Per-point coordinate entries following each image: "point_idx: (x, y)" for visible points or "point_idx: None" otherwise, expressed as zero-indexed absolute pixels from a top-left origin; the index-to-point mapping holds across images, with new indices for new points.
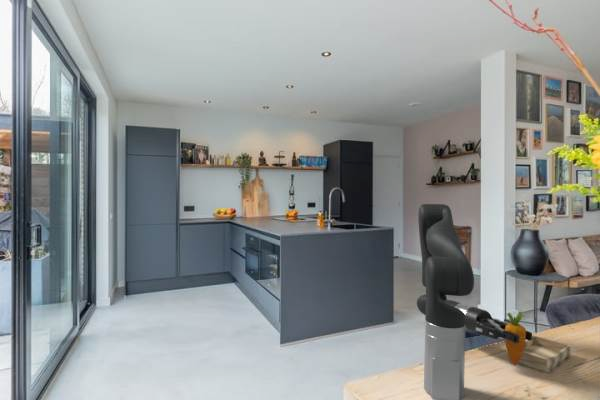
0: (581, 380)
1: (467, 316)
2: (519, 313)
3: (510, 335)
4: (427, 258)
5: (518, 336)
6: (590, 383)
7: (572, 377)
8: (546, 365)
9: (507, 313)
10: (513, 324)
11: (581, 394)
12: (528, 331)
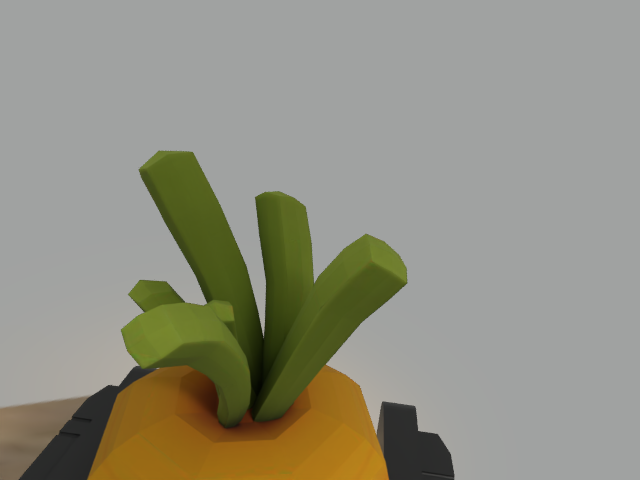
0: (35, 439)
1: None
2: (206, 184)
3: (453, 471)
4: None
5: (394, 404)
6: (51, 411)
7: (17, 473)
8: None
9: (392, 268)
10: (285, 403)
11: None
12: (119, 386)
